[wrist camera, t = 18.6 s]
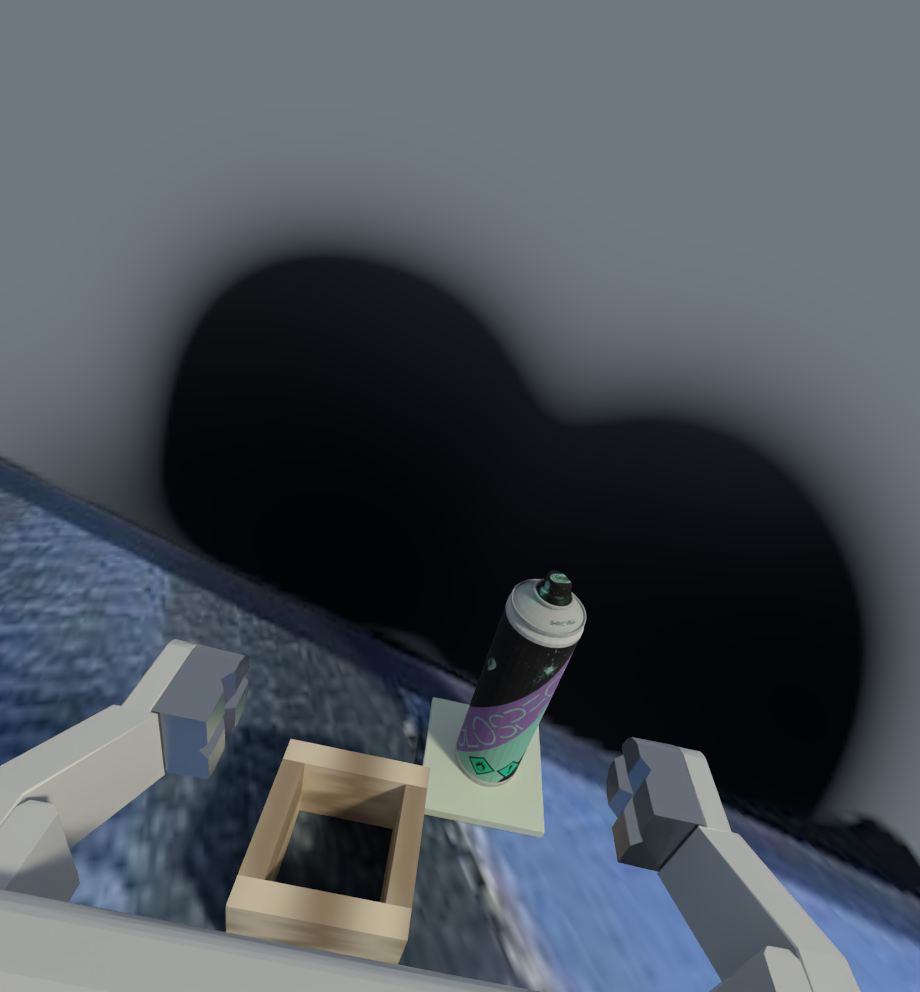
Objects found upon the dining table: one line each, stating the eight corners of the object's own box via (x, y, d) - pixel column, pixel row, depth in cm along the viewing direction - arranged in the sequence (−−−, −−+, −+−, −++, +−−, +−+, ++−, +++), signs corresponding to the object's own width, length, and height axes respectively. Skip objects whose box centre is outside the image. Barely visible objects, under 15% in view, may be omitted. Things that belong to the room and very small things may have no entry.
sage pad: (415, 812, 41) (417, 806, 40) (431, 702, 49) (433, 697, 49) (541, 837, 41) (544, 832, 41) (535, 724, 50) (538, 719, 49)
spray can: (441, 757, 44) (504, 575, 34) (477, 715, 48) (542, 541, 38) (496, 802, 42) (581, 621, 32) (528, 753, 46) (612, 581, 36)
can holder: (226, 950, 32) (225, 905, 29) (286, 786, 40) (290, 738, 37) (390, 980, 32) (407, 940, 29) (415, 812, 41) (430, 767, 38)
